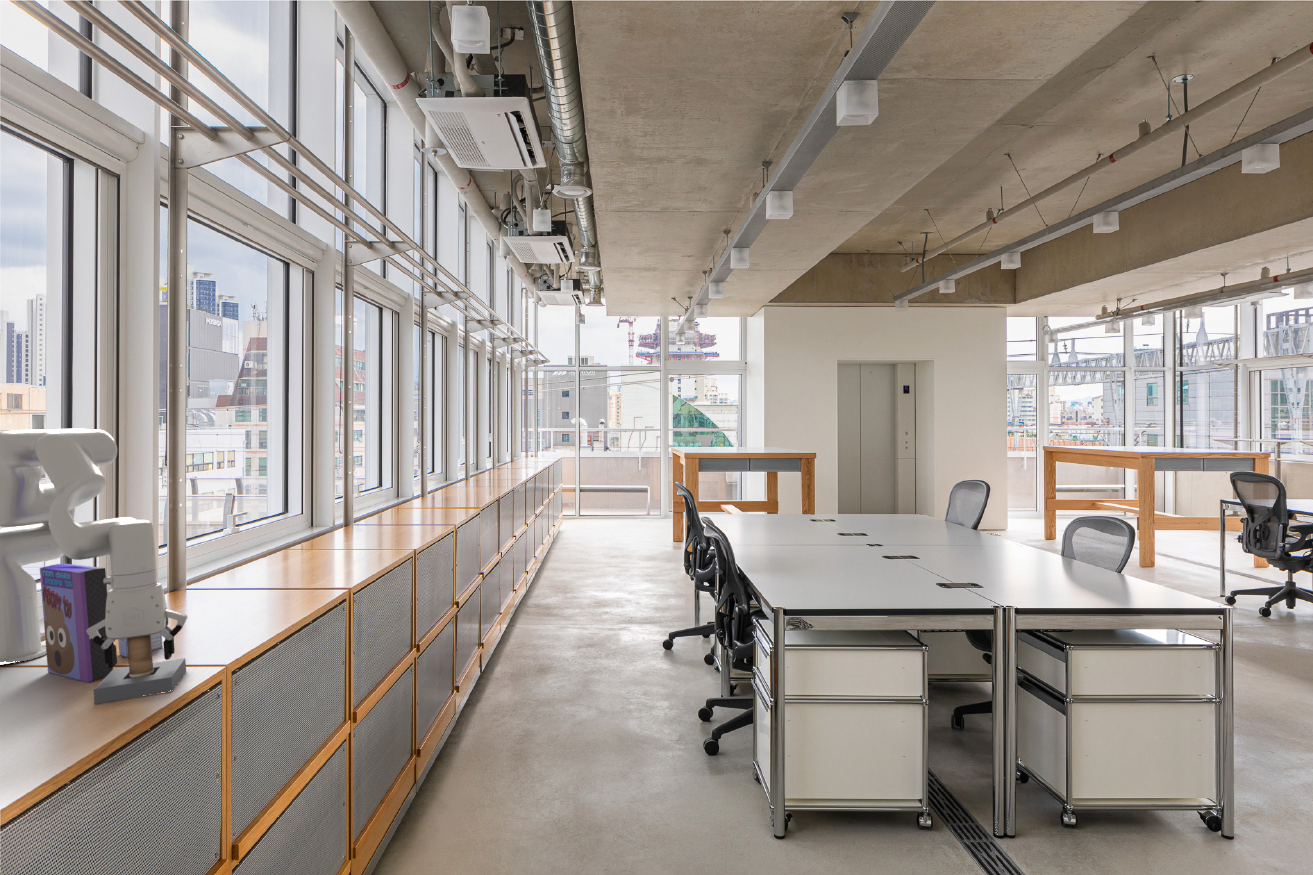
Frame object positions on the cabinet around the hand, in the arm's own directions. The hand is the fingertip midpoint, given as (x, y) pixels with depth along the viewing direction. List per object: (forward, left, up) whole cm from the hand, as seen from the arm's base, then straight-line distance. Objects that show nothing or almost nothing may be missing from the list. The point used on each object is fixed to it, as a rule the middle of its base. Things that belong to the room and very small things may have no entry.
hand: (141, 661), depth 151 cm
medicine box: (-30, -7, -6) cm, 32 cm away
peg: (0, 0, -5) cm, 5 cm away
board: (0, 0, -5) cm, 5 cm away
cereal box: (-18, -16, -6) cm, 24 cm away
